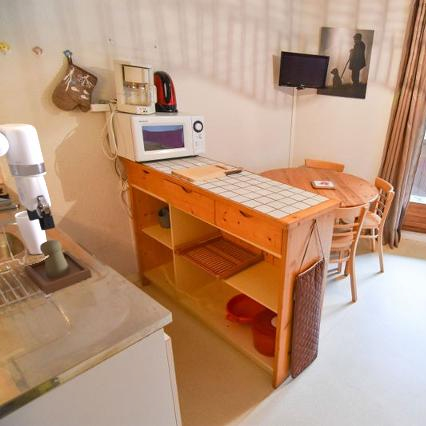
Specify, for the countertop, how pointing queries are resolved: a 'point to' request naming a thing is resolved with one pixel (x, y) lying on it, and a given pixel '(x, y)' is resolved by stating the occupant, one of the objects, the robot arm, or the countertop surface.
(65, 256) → the tray
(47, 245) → the cork
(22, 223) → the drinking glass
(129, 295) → the countertop surface
